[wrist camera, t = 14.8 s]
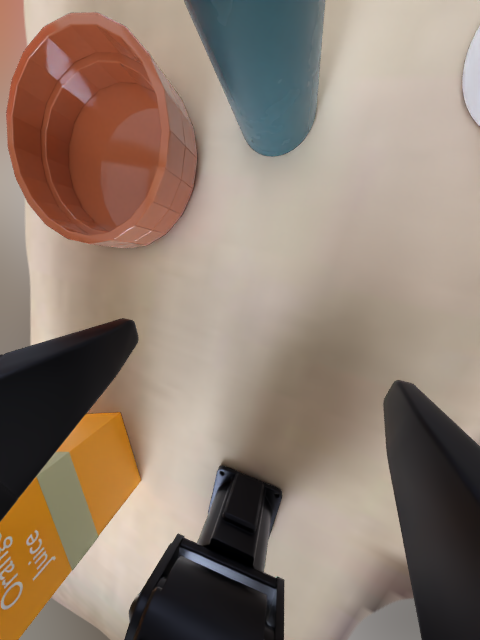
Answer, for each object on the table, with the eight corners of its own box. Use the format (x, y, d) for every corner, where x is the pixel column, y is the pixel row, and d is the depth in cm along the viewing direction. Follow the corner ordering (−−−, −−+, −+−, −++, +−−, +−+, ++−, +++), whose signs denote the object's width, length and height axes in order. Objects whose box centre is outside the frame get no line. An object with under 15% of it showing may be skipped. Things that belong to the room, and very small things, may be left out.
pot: (187, 261, 20) (156, 259, 16) (65, 234, 23) (10, 225, 19) (213, 76, 17) (182, 10, 13) (66, 69, 19) (0, 13, 15)
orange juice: (121, 411, 26) (-389, 806, 7) (142, 481, 27) (-234, 974, 8) (68, 414, 28) (-424, 715, 9) (90, 478, 29) (-300, 858, 10)
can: (285, 170, 17) (253, -10, 6) (227, 133, 17) (101, -97, 6) (333, 92, 15) (408, -350, 4) (268, 53, 16) (190, -432, 5)
